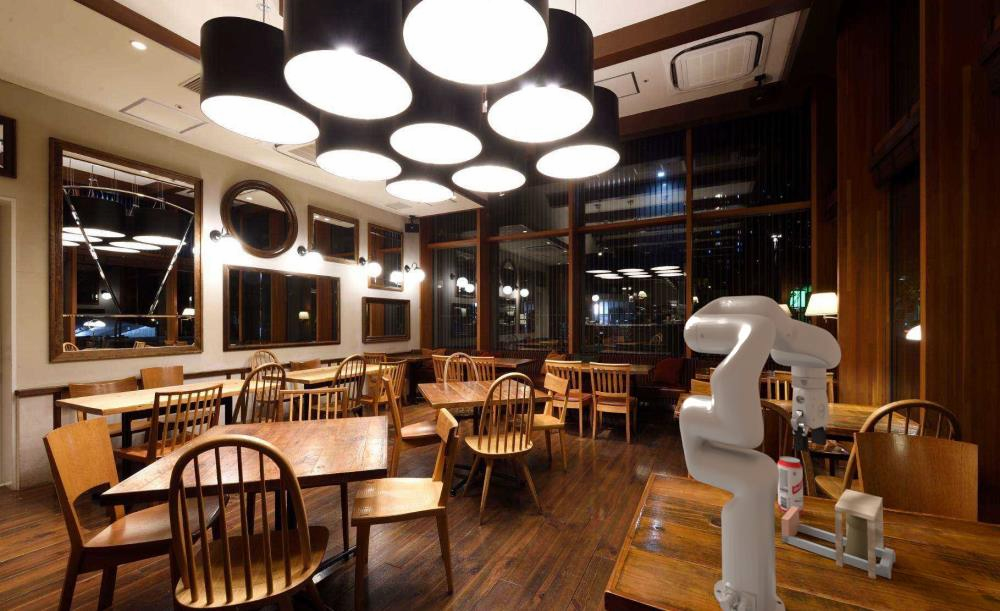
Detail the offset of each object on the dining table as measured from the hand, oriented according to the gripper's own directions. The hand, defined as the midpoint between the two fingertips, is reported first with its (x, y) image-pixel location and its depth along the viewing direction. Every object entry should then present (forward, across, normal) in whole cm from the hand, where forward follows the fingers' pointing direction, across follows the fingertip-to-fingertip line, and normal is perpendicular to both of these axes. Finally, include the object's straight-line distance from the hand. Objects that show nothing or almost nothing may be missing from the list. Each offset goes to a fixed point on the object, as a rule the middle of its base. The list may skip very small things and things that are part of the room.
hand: (810, 447), depth 110 cm
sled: (+24, -2, -6) cm, 25 cm away
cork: (+24, -1, -10) cm, 27 cm away
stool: (+24, -1, -10) cm, 26 cm away
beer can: (+25, +11, +10) cm, 29 cm away
